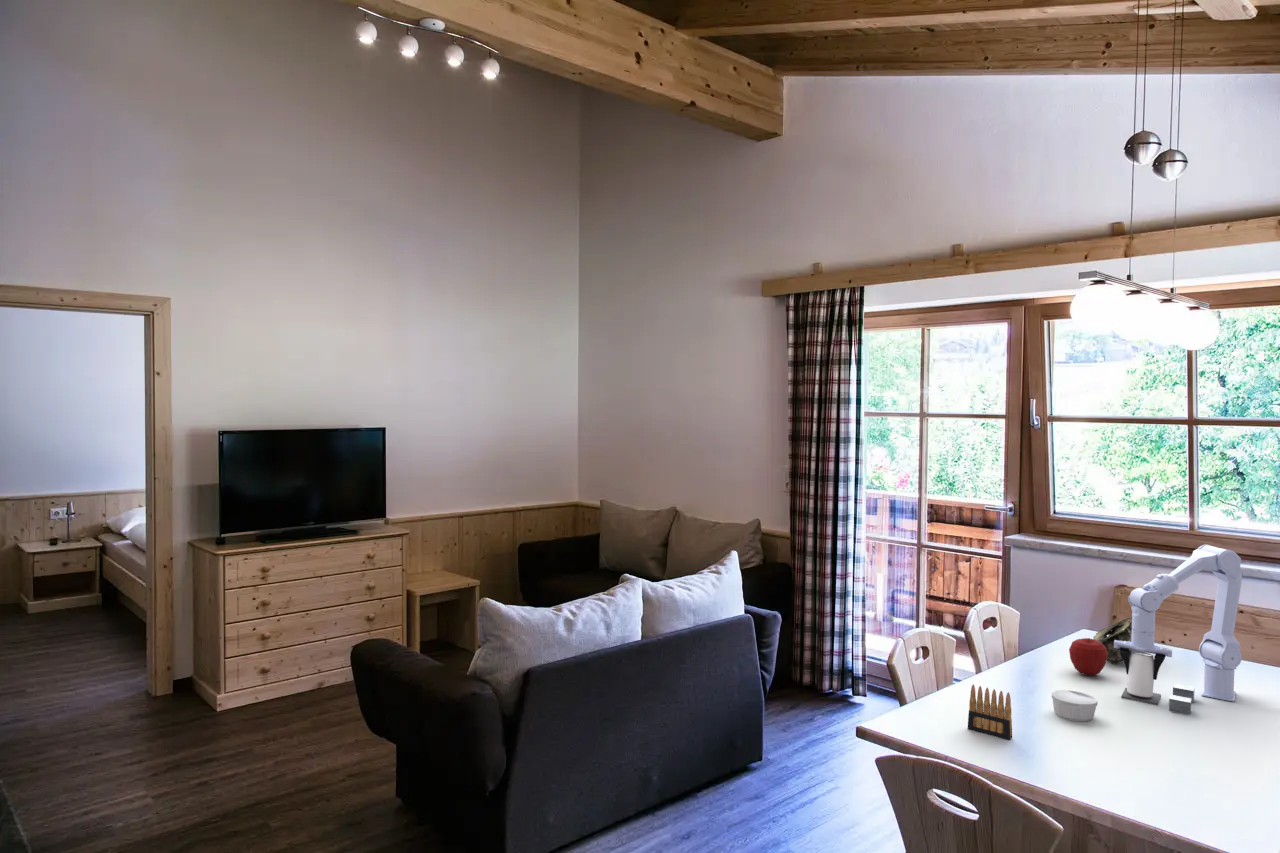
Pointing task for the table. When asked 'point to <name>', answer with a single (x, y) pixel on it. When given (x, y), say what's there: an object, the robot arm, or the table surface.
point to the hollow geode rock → (1115, 638)
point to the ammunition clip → (990, 714)
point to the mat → (1142, 698)
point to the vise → (1181, 699)
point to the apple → (1088, 656)
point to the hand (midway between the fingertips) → (1141, 676)
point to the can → (1140, 674)
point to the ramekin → (1074, 705)
